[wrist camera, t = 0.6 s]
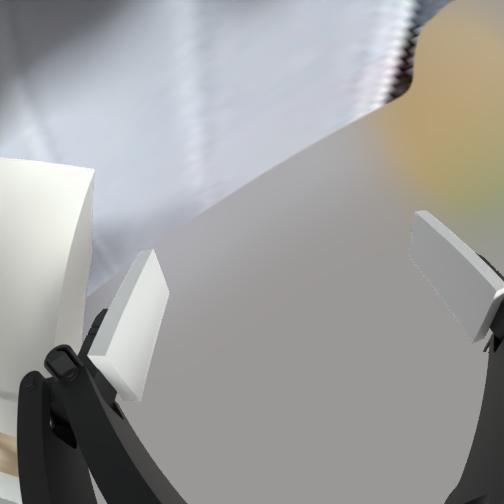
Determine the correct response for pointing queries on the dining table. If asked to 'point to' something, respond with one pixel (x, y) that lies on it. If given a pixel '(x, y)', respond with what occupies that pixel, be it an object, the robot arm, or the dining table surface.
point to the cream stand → (40, 268)
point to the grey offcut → (10, 488)
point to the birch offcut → (8, 455)
